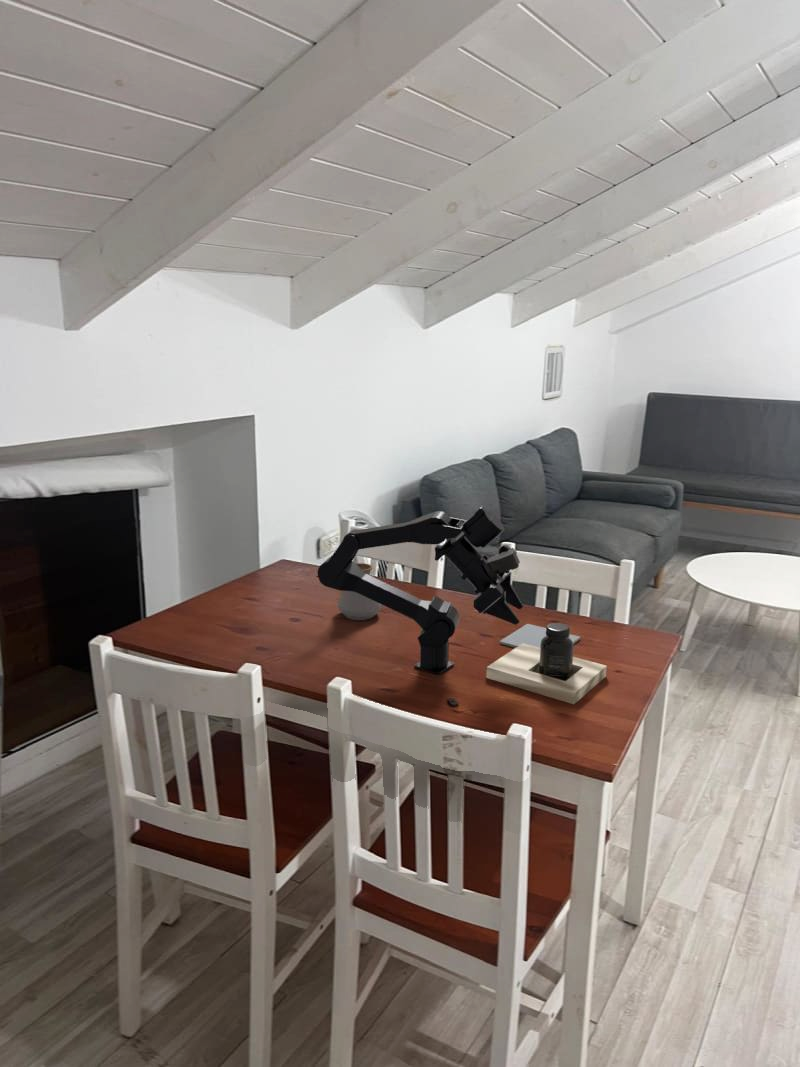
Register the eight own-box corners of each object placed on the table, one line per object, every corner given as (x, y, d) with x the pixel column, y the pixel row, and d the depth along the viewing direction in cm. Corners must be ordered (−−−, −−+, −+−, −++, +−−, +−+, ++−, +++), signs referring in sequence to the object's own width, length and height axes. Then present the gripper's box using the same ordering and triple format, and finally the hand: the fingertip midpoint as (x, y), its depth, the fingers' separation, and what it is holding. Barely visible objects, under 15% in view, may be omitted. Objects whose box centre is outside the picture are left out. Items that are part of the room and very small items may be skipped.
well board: (574, 704, 160) (574, 692, 159) (486, 677, 171) (486, 666, 170) (605, 676, 172) (606, 665, 171) (522, 653, 183) (522, 643, 183)
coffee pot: (351, 604, 214) (351, 550, 210) (390, 611, 209) (390, 555, 205) (307, 631, 195) (306, 572, 192) (349, 639, 191) (348, 579, 187)
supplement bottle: (577, 679, 170) (581, 626, 167) (560, 690, 166) (563, 635, 163) (549, 670, 175) (553, 618, 172) (532, 679, 170) (535, 626, 167)
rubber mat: (554, 658, 181) (554, 655, 181) (499, 643, 189) (499, 641, 189) (580, 639, 192) (580, 636, 192) (527, 625, 200) (527, 623, 200)
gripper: (491, 549, 157) (546, 607, 157) (501, 525, 174) (550, 577, 175) (451, 584, 161) (504, 641, 161) (464, 558, 178) (513, 609, 179)
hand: (519, 615), depth 169 cm, fingers open, 9 cm apart
